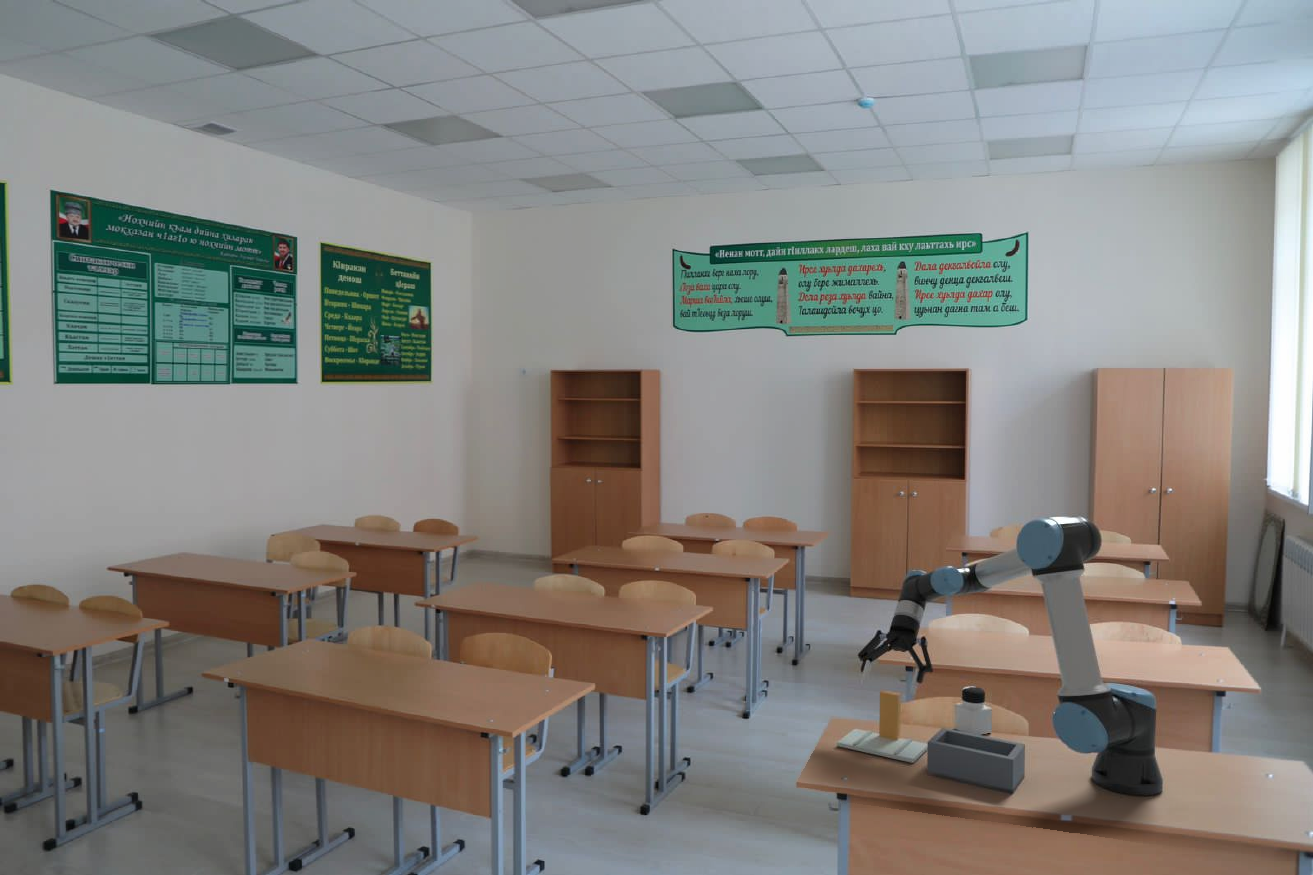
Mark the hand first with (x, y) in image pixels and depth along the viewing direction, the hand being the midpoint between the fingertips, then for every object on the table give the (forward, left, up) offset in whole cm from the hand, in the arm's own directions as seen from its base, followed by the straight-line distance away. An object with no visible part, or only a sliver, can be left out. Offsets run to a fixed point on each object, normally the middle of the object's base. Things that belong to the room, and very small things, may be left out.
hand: (887, 688), depth 242 cm
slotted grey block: (0, +3, -15) cm, 15 cm away
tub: (-25, +7, -15) cm, 30 cm away
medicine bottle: (-16, -24, -15) cm, 32 cm away
